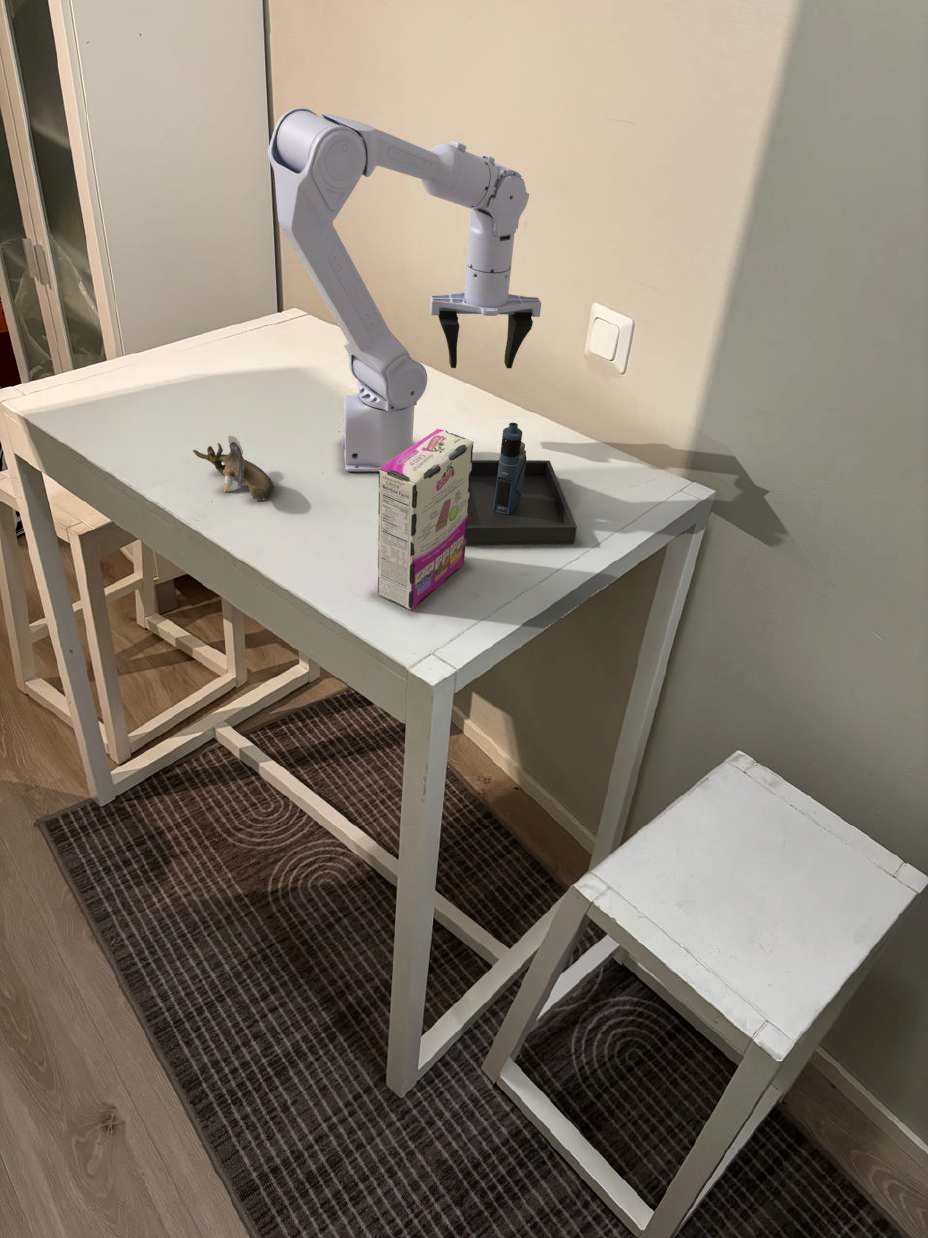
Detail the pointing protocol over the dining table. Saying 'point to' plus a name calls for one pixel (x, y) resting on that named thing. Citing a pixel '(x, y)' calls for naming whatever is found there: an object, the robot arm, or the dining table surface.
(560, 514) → the tray
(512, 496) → the vaping device
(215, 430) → the dining table surface
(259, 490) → the antlered animal figurine
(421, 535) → the candy bar box
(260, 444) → the dining table surface
